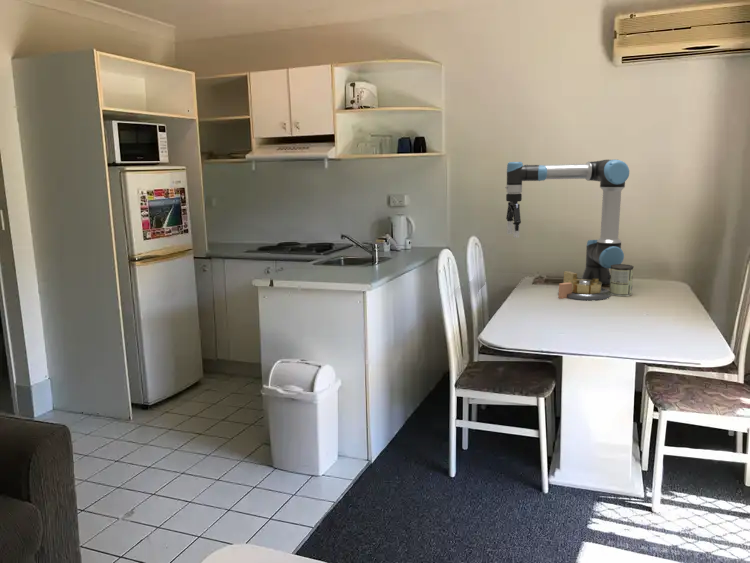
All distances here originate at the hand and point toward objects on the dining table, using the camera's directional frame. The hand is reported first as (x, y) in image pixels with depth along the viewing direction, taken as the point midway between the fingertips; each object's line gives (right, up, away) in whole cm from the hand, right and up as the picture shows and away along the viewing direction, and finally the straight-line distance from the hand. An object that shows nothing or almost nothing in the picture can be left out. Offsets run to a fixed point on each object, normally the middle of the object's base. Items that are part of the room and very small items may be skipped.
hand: (512, 235), depth 314 cm
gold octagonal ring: (+32, -27, -6) cm, 42 cm away
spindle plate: (+33, -30, -9) cm, 45 cm away
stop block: (+22, -31, -14) cm, 40 cm away
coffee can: (+51, -30, -9) cm, 60 cm away
